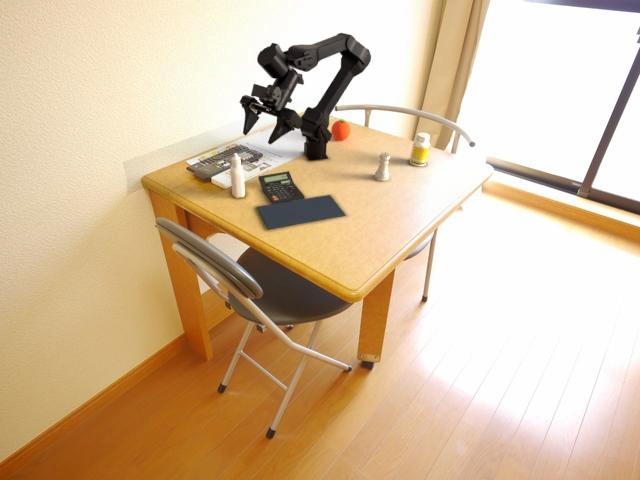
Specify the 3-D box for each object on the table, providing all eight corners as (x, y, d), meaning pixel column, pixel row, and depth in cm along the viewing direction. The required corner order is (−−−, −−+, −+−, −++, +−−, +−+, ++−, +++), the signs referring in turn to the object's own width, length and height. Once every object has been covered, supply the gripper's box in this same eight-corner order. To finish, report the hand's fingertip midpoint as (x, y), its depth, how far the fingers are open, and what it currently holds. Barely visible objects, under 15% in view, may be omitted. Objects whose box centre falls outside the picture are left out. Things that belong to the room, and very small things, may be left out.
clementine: (332, 133, 151) (334, 114, 147) (351, 136, 150) (353, 117, 146) (328, 141, 145) (330, 122, 140) (348, 144, 144) (350, 125, 140)
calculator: (272, 204, 109) (272, 195, 107) (258, 184, 117) (258, 175, 116) (304, 198, 113) (304, 189, 111) (288, 179, 121) (288, 170, 119)
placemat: (329, 196, 115) (329, 194, 114) (345, 215, 107) (345, 214, 107) (257, 207, 108) (257, 206, 107) (268, 229, 100) (268, 228, 100)
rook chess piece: (390, 177, 126) (394, 153, 121) (386, 183, 122) (390, 158, 118) (376, 173, 127) (380, 149, 122) (372, 179, 124) (375, 155, 119)
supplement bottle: (428, 166, 133) (434, 138, 127) (412, 166, 132) (418, 138, 126) (422, 159, 137) (428, 131, 131) (407, 159, 136) (412, 131, 130)
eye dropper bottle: (249, 189, 115) (247, 150, 108) (242, 199, 111) (239, 159, 103) (234, 187, 116) (231, 148, 108) (227, 197, 111) (223, 156, 104)
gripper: (241, 64, 108) (214, 115, 107) (296, 78, 100) (267, 134, 99) (263, 87, 118) (238, 135, 117) (314, 103, 110) (287, 154, 109)
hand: (256, 139), depth 110 cm, fingers open, 9 cm apart
